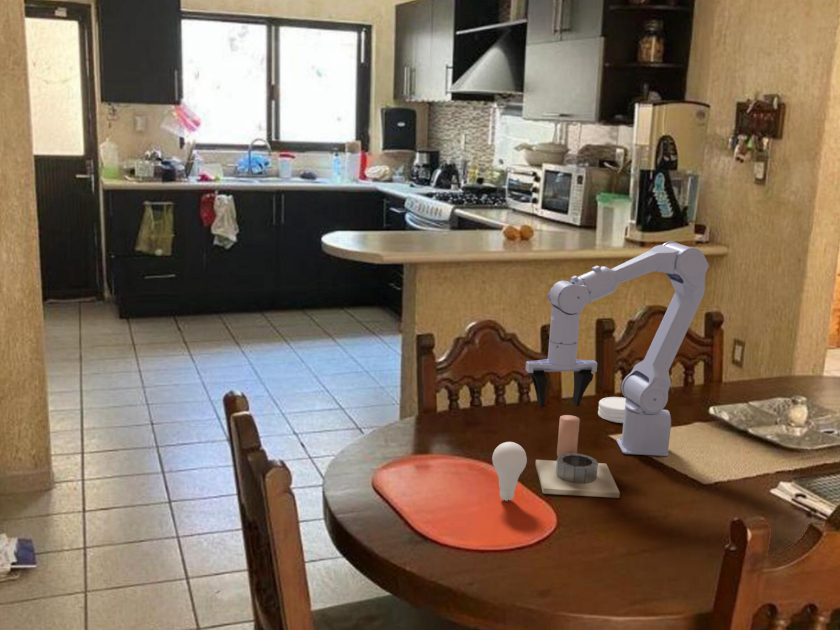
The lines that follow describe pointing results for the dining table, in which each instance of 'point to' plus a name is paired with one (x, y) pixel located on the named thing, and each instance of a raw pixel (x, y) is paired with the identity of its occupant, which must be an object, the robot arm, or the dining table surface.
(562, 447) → the peg
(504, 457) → the lightbulb
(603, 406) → the coaster
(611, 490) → the socket board
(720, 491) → the dining table surface
